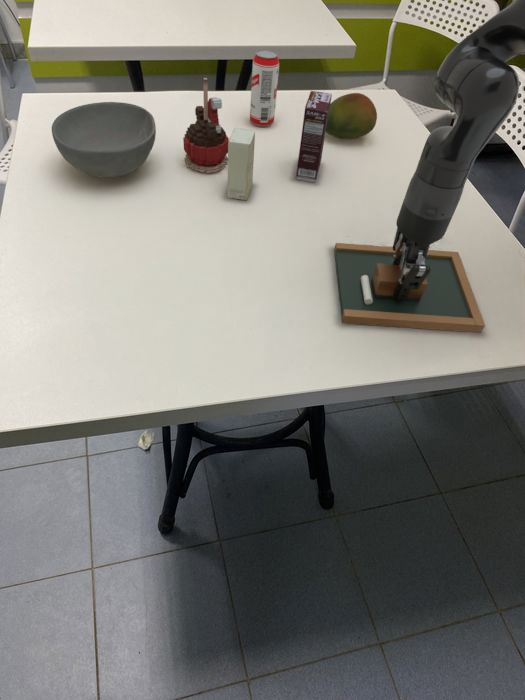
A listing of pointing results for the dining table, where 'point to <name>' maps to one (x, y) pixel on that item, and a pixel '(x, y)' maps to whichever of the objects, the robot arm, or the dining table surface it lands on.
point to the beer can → (264, 87)
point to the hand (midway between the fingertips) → (396, 287)
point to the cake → (206, 137)
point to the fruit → (351, 116)
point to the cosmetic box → (240, 163)
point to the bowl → (105, 137)
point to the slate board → (429, 313)
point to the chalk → (366, 289)
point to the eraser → (392, 283)
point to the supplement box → (313, 135)
